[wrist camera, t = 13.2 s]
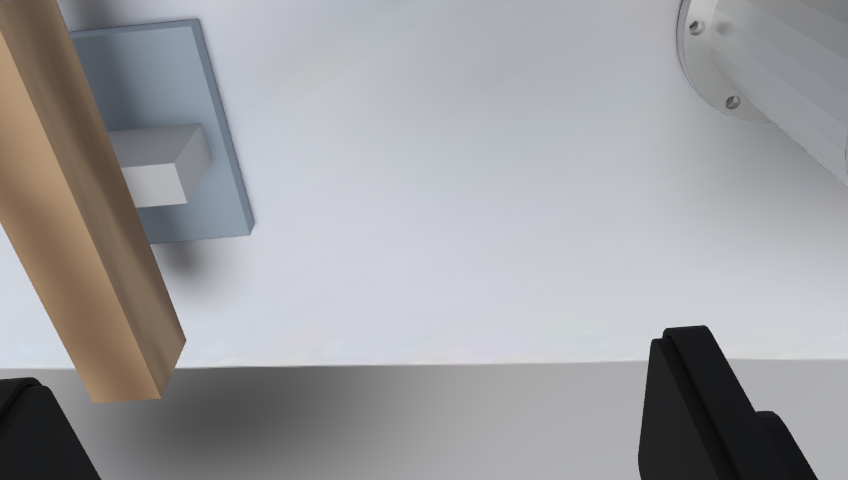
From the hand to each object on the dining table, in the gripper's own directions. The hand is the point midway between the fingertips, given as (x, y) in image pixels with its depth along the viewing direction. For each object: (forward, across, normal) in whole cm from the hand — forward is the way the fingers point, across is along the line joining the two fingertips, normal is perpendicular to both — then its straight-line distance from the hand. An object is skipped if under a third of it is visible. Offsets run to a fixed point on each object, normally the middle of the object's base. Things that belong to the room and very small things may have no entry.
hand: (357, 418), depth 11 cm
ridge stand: (+32, +18, +8) cm, 38 cm away
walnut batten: (+25, +18, +8) cm, 32 cm away
